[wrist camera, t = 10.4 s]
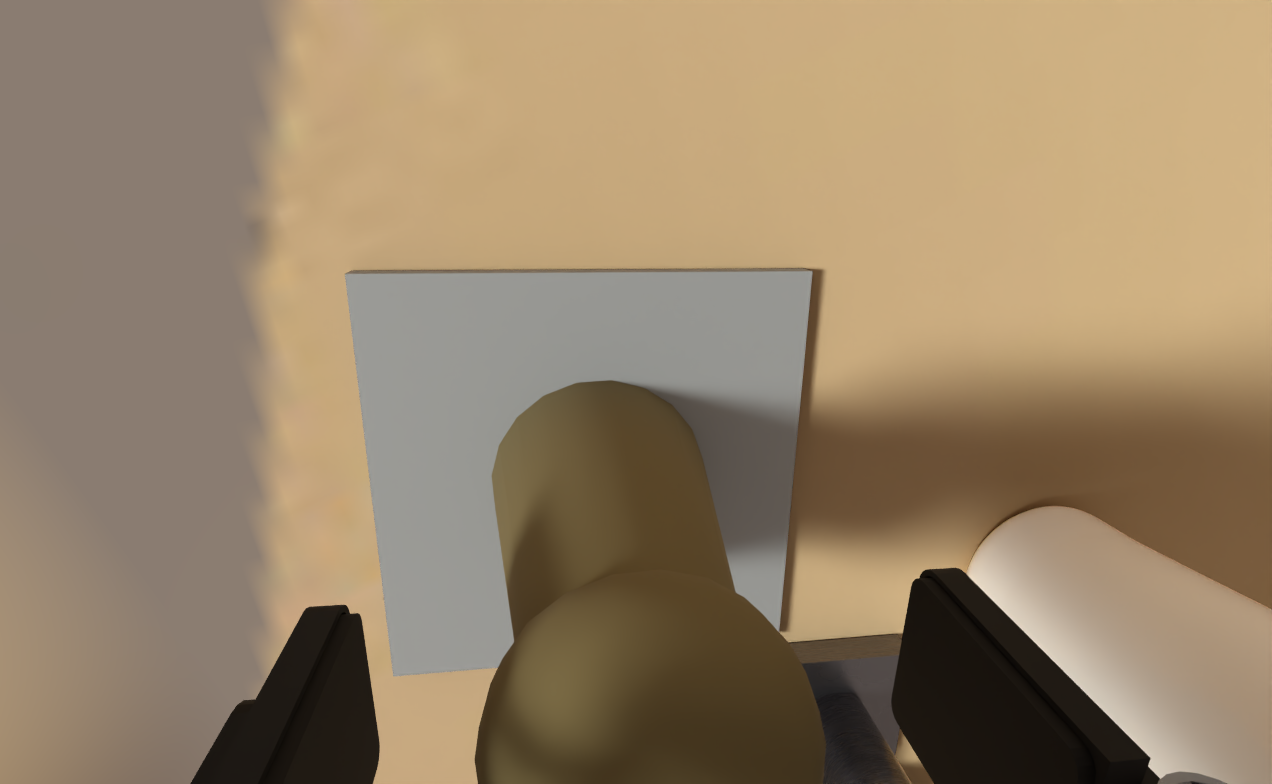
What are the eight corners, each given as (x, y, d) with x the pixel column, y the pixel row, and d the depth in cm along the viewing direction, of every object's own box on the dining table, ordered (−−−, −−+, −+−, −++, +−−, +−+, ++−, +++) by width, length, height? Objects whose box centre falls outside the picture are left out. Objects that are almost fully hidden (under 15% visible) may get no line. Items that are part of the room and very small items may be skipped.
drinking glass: (1128, 460, 22) (2197, 972, 8) (1110, 628, 24) (1922, 1268, 10) (935, 500, 21) (1713, 1131, 7) (934, 668, 24) (1531, 1408, 9)
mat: (351, 270, 17) (344, 274, 16) (804, 268, 18) (812, 271, 18) (397, 662, 20) (393, 676, 20) (772, 632, 22) (777, 644, 21)
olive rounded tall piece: (541, 346, 17) (542, 592, 7) (738, 426, 19) (980, 727, 9) (459, 536, 19) (358, 979, 8) (649, 598, 20) (764, 1037, 10)
